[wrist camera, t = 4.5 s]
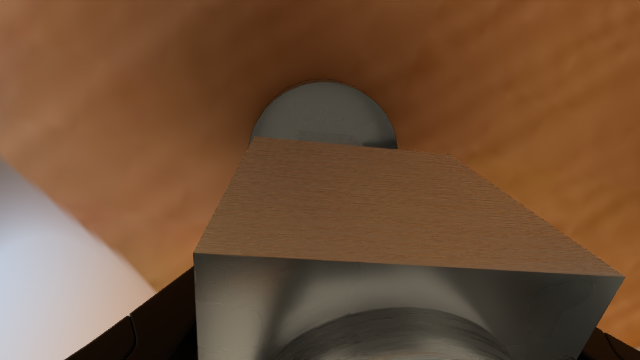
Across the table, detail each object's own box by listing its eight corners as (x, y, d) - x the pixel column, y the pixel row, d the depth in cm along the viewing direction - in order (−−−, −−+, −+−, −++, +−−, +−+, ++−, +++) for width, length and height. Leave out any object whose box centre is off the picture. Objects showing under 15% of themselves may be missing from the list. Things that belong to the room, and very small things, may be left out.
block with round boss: (450, 154, 9) (777, 382, 3) (408, 303, 12) (544, 623, 5) (253, 135, 9) (132, 369, 2) (248, 297, 11) (177, 645, 5)
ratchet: (255, 71, 17) (239, 79, 12) (400, 87, 18) (436, 100, 13) (247, 308, 23) (235, 373, 18) (355, 312, 24) (368, 375, 19)
